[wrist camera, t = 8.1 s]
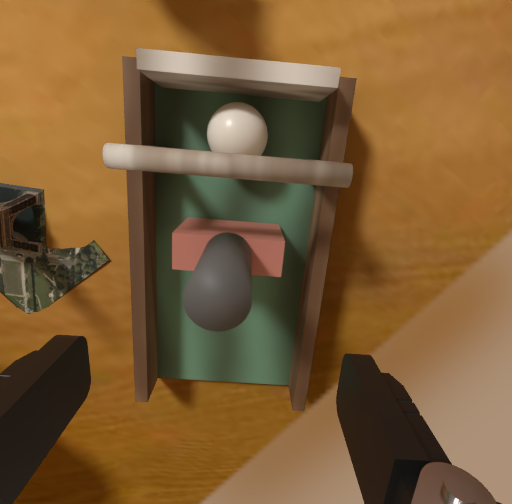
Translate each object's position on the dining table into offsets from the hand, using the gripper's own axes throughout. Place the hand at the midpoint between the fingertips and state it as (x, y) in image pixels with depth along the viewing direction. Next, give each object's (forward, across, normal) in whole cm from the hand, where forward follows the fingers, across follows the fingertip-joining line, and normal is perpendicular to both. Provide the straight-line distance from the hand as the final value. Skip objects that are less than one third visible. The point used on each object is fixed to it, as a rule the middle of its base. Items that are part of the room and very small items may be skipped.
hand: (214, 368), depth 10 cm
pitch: (+17, +1, +1) cm, 17 cm away
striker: (+16, +1, 0) cm, 16 cm away
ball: (+14, 0, -8) cm, 16 cm away
